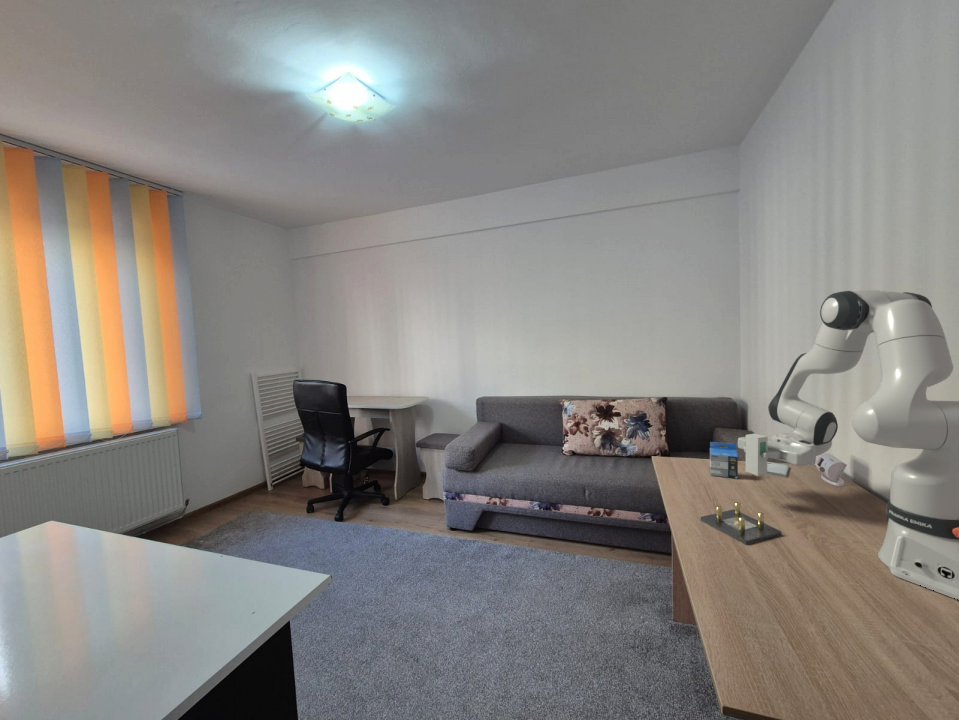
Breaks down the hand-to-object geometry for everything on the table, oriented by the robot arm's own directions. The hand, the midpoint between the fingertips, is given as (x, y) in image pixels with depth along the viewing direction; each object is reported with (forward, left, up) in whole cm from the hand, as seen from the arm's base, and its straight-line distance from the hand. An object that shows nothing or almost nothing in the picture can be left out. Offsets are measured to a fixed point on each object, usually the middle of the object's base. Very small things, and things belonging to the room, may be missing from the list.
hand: (754, 452), depth 121 cm
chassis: (-9, +17, -17) cm, 25 cm away
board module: (0, -1, -7) cm, 7 cm away
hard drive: (+18, -34, -18) cm, 42 cm away
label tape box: (+21, -12, -17) cm, 30 cm away
